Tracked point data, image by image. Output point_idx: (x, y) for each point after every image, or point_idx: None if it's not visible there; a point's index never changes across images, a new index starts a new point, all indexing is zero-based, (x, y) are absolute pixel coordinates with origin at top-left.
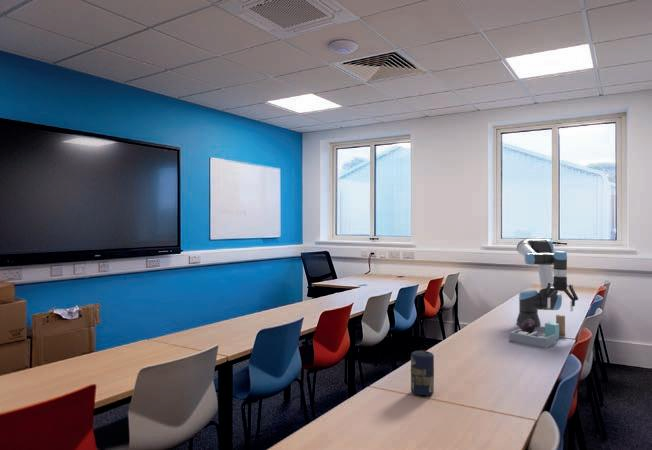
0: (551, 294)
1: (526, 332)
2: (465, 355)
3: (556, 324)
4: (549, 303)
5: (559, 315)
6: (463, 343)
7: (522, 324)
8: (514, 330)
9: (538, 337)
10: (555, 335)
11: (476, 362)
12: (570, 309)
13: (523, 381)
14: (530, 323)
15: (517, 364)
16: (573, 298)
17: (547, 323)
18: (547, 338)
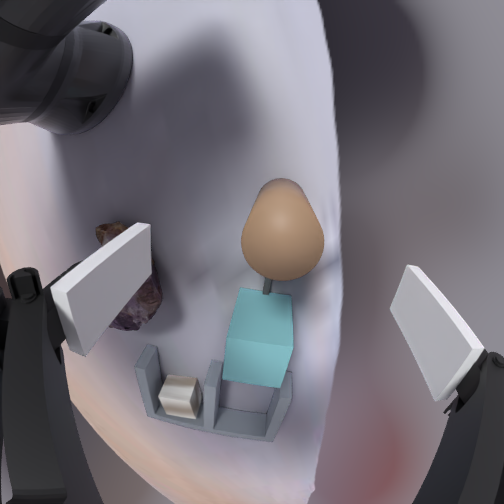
0: (45, 358)
1: (184, 403)
2: (167, 469)
3: (282, 370)
4: (122, 279)
5: (272, 244)
6: (112, 428)
7: (111, 324)
8: (141, 393)
9: (245, 438)
10: (290, 399)
11: (200, 482)
12: (397, 322)
13: (279, 499)
14: (131, 312)
15: (253, 482)
16: (496, 386)
17: (231, 369)
18: (274, 437)
